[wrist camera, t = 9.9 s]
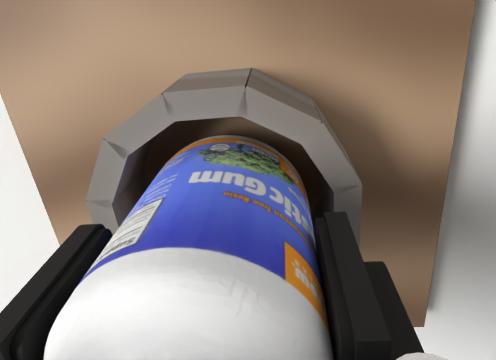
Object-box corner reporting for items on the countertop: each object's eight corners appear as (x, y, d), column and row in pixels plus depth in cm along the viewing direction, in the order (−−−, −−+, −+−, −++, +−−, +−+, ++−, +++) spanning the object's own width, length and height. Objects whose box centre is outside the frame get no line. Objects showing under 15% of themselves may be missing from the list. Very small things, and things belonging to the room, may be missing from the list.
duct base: (414, 307, 18) (453, 389, 14) (104, 315, 19) (63, 390, 15) (469, -90, 11) (576, -142, 7) (-21, -28, 12) (-150, -43, 9)
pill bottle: (339, 190, 12) (504, 631, 4) (248, 285, 14) (211, 712, 6) (208, 96, 11) (-19, 406, 2) (129, 213, 13) (-146, 609, 5)
